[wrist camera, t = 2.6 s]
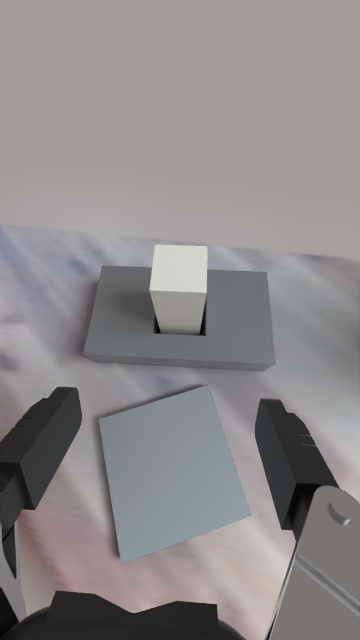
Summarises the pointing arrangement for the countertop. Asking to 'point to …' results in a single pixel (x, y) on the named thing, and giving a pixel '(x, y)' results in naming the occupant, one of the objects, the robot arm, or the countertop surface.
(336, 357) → the countertop surface
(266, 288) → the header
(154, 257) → the tall cream white pillar
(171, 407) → the mat
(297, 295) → the countertop surface
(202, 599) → the countertop surface
